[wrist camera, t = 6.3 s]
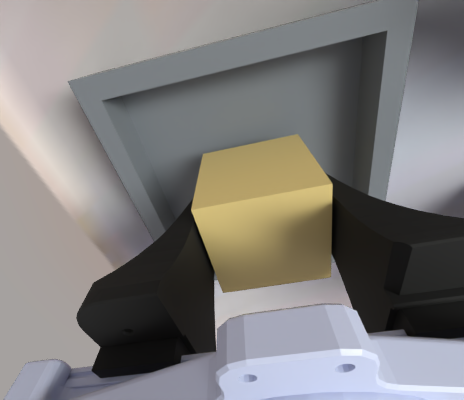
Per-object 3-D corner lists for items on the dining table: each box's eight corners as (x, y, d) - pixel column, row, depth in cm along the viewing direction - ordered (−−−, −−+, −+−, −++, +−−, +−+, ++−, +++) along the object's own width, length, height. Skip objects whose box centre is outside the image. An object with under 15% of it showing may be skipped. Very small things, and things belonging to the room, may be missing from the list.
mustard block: (302, 211, 15) (330, 277, 11) (224, 224, 16) (223, 292, 12) (297, 133, 12) (332, 183, 8) (202, 154, 13) (191, 209, 9)
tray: (357, 228, 19) (376, 255, 16) (184, 257, 20) (178, 285, 18) (380, -1, 11) (420, -11, 9) (97, 72, 13) (67, 81, 10)
